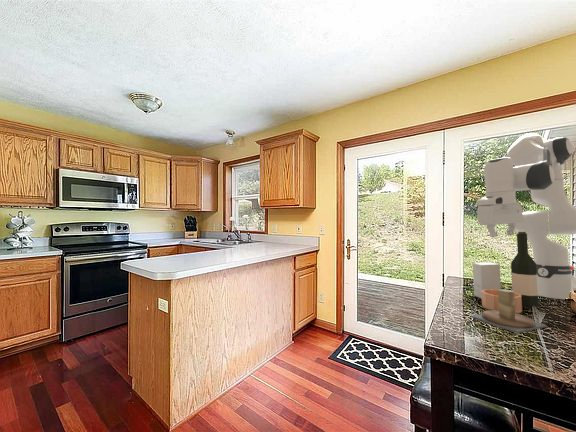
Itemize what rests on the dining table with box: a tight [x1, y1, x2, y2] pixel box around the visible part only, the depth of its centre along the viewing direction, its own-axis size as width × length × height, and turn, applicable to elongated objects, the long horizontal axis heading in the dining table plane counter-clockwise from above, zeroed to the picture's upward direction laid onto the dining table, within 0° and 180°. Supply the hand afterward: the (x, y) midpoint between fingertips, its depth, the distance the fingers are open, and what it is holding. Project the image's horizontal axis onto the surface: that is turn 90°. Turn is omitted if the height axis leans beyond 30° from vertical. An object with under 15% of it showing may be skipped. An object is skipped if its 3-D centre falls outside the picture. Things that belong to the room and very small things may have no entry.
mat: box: [471, 313, 548, 334], centre depth 86 cm, size 14×14×1 cm
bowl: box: [481, 289, 523, 314], centre depth 100 cm, size 12×12×6 cm
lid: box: [481, 288, 536, 328], centre depth 87 cm, size 14×14×10 cm
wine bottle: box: [510, 232, 539, 307], centre depth 106 cm, size 8×8×30 cm
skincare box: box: [472, 261, 502, 300], centre depth 114 cm, size 8×7×16 cm
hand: (502, 235), depth 96 cm, fingers open, 8 cm apart
